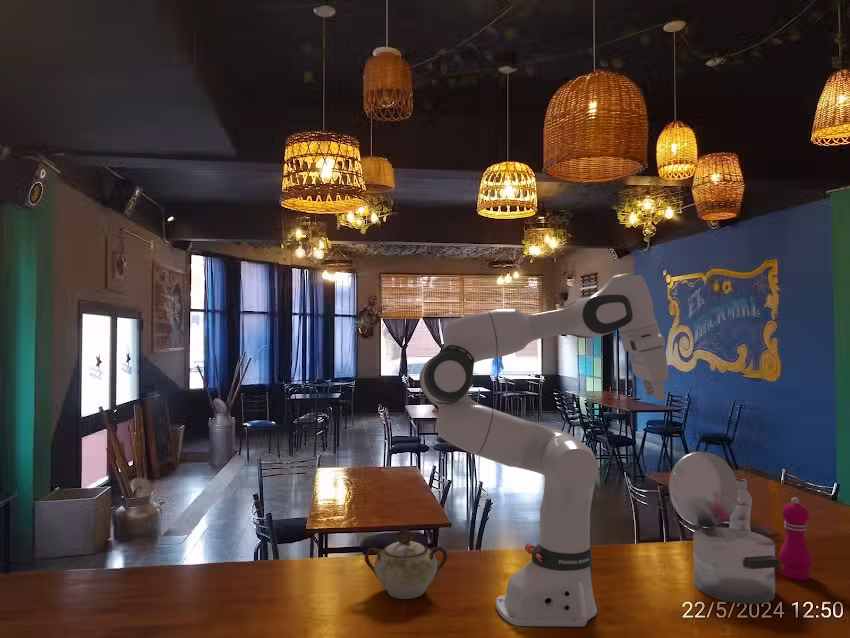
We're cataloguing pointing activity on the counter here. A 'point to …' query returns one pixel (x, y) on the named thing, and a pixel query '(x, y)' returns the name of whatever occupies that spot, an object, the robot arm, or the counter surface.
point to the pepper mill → (795, 542)
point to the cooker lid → (703, 489)
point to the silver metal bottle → (741, 508)
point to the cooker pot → (734, 565)
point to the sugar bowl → (405, 566)
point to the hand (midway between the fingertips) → (655, 397)
